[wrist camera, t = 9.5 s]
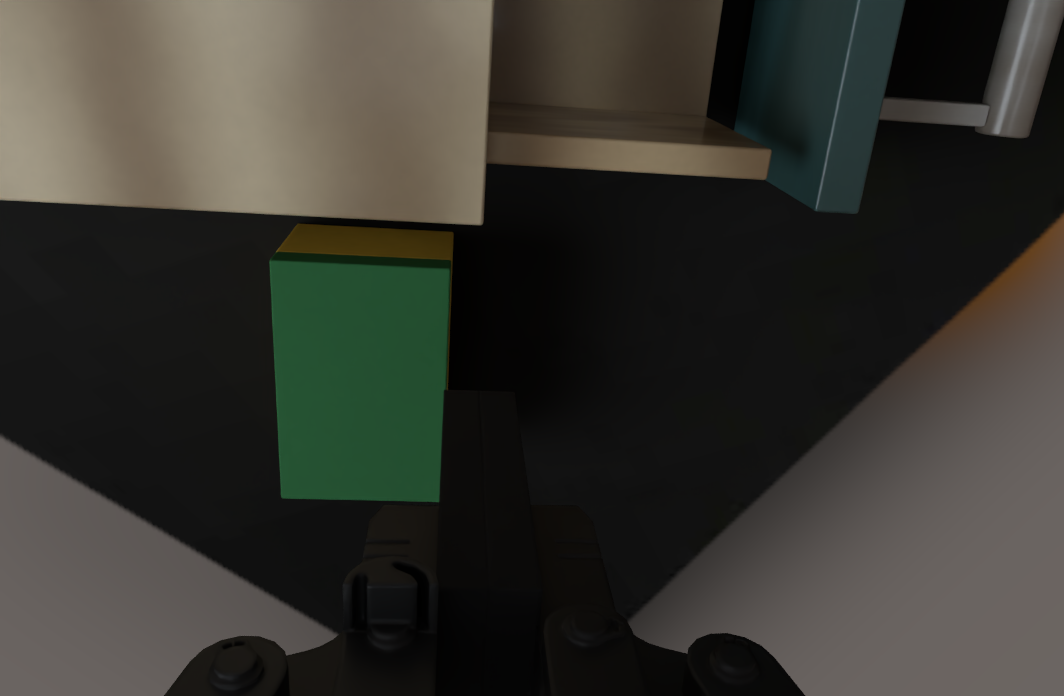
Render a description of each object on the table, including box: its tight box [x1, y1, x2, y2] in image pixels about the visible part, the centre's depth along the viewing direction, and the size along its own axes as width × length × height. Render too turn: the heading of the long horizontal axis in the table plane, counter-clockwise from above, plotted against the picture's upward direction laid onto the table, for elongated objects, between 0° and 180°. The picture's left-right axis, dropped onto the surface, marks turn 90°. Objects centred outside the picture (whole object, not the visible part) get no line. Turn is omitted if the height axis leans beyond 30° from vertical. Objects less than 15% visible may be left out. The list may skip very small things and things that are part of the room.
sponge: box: [270, 224, 453, 502], centre depth 29 cm, size 8×6×4 cm, turn 176°
